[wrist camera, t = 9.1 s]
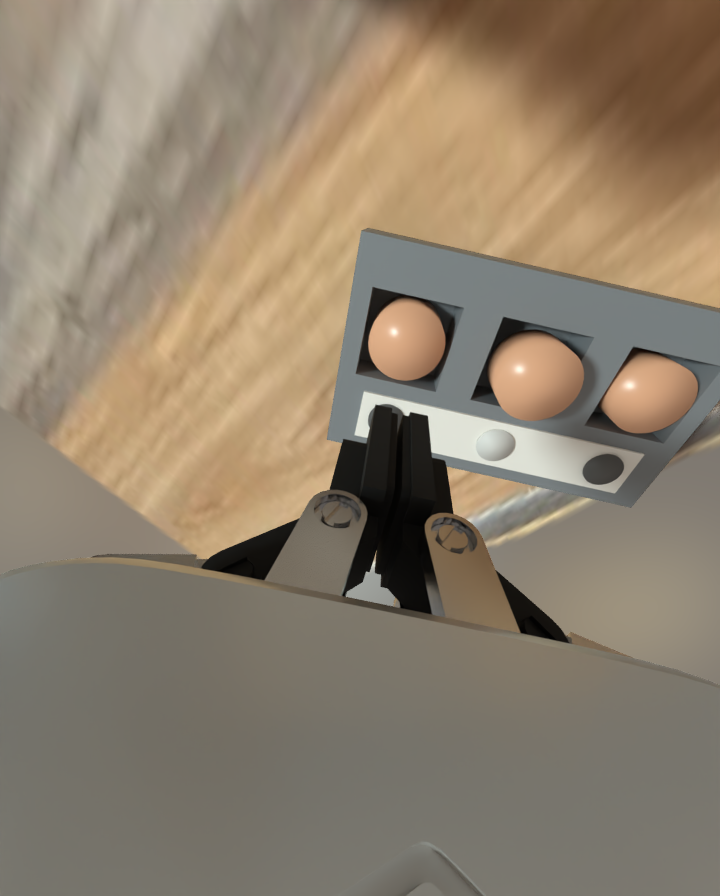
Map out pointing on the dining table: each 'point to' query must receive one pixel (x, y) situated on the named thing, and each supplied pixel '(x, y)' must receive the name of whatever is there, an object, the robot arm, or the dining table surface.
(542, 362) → the button
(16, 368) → the dining table surface
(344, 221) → the dining table surface
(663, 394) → the button
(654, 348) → the button board
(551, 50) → the dining table surface
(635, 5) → the dining table surface
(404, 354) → the button
